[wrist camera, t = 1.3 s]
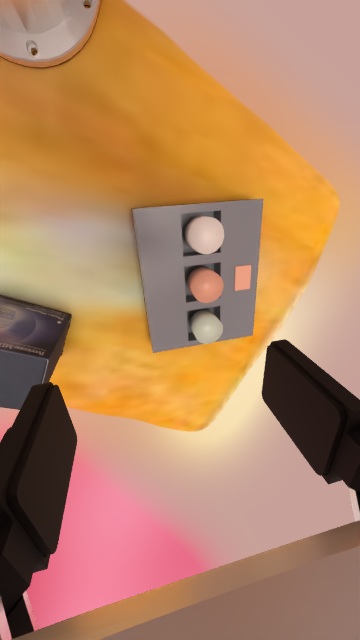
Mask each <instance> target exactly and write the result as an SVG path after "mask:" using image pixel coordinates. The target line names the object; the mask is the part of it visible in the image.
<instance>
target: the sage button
mask: <svg viewBox="0 0 360 640" xmlns="http://www.w3.org/2000/svg"><path fill="white" fill-rule="evenodd" d="M190 328H191V330H192V332H193V334H194V335H195V337H196V339H197V340H198V341H199V342H201V343H203V344H210V343H213V342H215V341H217V340H218V339H219V338H220V336H221V335H222V332H223V325H222V323H221V322H220V320H219V319H218V318H217V317H216V316H215V314H214V313H213V312H211V311H210V310H200V311H197V312H196V313H195V314H194V315H193V316H192V317H191V319H190Z"/></svg>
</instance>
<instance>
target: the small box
mask: <svg viewBox="0 0 360 640" xmlns="http://www.w3.org/2000/svg"><path fill="white" fill-rule="evenodd" d="M70 321H71V315H70V314H67V313H63V312H60V311H56V310H52V309H49V308H45V307H41V306H37V305H34V304H30V303H26V302H23V301H19V300H15V299H12V298H8V297H4V296H1V295H0V407H3V408H11V409H18V410H20V409H21V407H22V405H23V403H24V401H25V399H26V397H27V395H28V393H29V391H30V389H31V387H32V386H33V385H36V384H41V383H47V382H49V380H50V378H51V376H52V374H53V371H54V369H55V367H56V364H57V362H58V360H59V358H60V356H61V355H62V352H63V346H64V344H65V343H64V342H65V339H66V335H67V331H68V329H69V326H70Z"/></svg>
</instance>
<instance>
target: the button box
mask: <svg viewBox="0 0 360 640" xmlns="http://www.w3.org/2000/svg"><path fill="white" fill-rule="evenodd" d="M262 209H263V199H250V200H237V201H224V202H211V203H198V204H185V205H172V206H159V207H146V208H134V209H132V214H133V221H134V228H135V235H136V242H137V249H138V256H139V263H140V270H141V277H142V284H143V292H144V299H145V306H146V313H147V320H148V327H149V334H150V341H151V346H152V351H153V353H155V352H161V351H166V350H172V349H178V348H183V347H189V346H195V345H200V344H203V343H201V342H199V341H198V340H197V339H196V337H195V335H194V334H193V332H192V330H191V328H190V319H191V317H192V316H193V315H194V314H195V313H196V312H197V311H200V310H210V311H211V312H213V313H214V314H215V316H216V317H217V318H218V319H219V320H220V322H221V323H222V325H223V332H222V335H221V336H220V338H219V339H218V340H217V341H223V340H229V339H235V338H240V337H246V336H252V335H253V327H254V314H255V300H256V287H257V274H258V261H259V248H260V235H261V222H262ZM197 216H206V217H213V218H215V219H217V220H218V221H219V222H220V223H221V224H222V226H223V229H224V240H223V243H222V245H221V246H220V248H219V249H218V250H216V251H215V252H213V253H211V254H201V253H199V252H197V251H196V250H194V249H192V248H191V247H190V246H189V245H188V244H187V242H186V240H185V228H186V226H187V224H188V223H189V221H190V220H192V219H193V218H195V217H197ZM199 267H207V268H210V269H211V270H213V271H214V272H215V273H217V274H218V275H219V276H220V277H221V278H222V280H223V284H224V287H223V291H222V294H221V295H220V297H219V298H218V299H216V300H215V301H213V302H210V303H202V302H200V301H198V300H197V299H196V298H195V297H194V295H193V294H192V293H191V292H190V290H189V288H188V285H187V281H188V277H189V275H190V273H191V272H192V271H193V270H195V269H196V268H199ZM217 341H215V342H217Z"/></svg>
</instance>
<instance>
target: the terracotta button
mask: <svg viewBox="0 0 360 640" xmlns="http://www.w3.org/2000/svg"><path fill="white" fill-rule="evenodd" d="M187 285H188V288H189V290H190V292H191V293H192V294H193V295H194V297H195V298H196V299H197V300H198V301H200V302H202V303H210V302H213V301H215V300H216V299H218V298H219V297H220V295H221V294H222V291H223V287H224V284H223V280H222V278H221V277H220V276H219V275H218V274H217V273H215V272H214V271H213V270H211V269H210V268H207V267H199V268H196V269H195V270H193V271H192V272H191V273H190V275H189V277H188V281H187Z"/></svg>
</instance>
